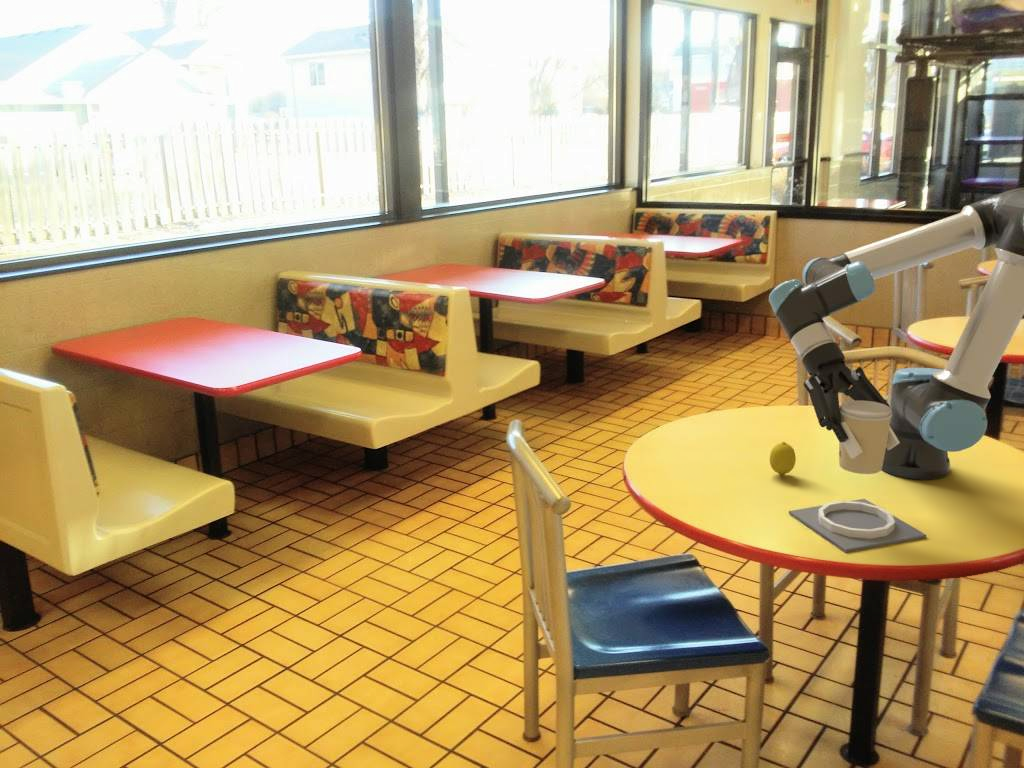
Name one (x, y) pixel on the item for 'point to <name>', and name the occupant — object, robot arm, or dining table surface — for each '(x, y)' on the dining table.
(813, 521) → the cup tray
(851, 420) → the coffee cup
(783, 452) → the lemon
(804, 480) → the dining table surface
